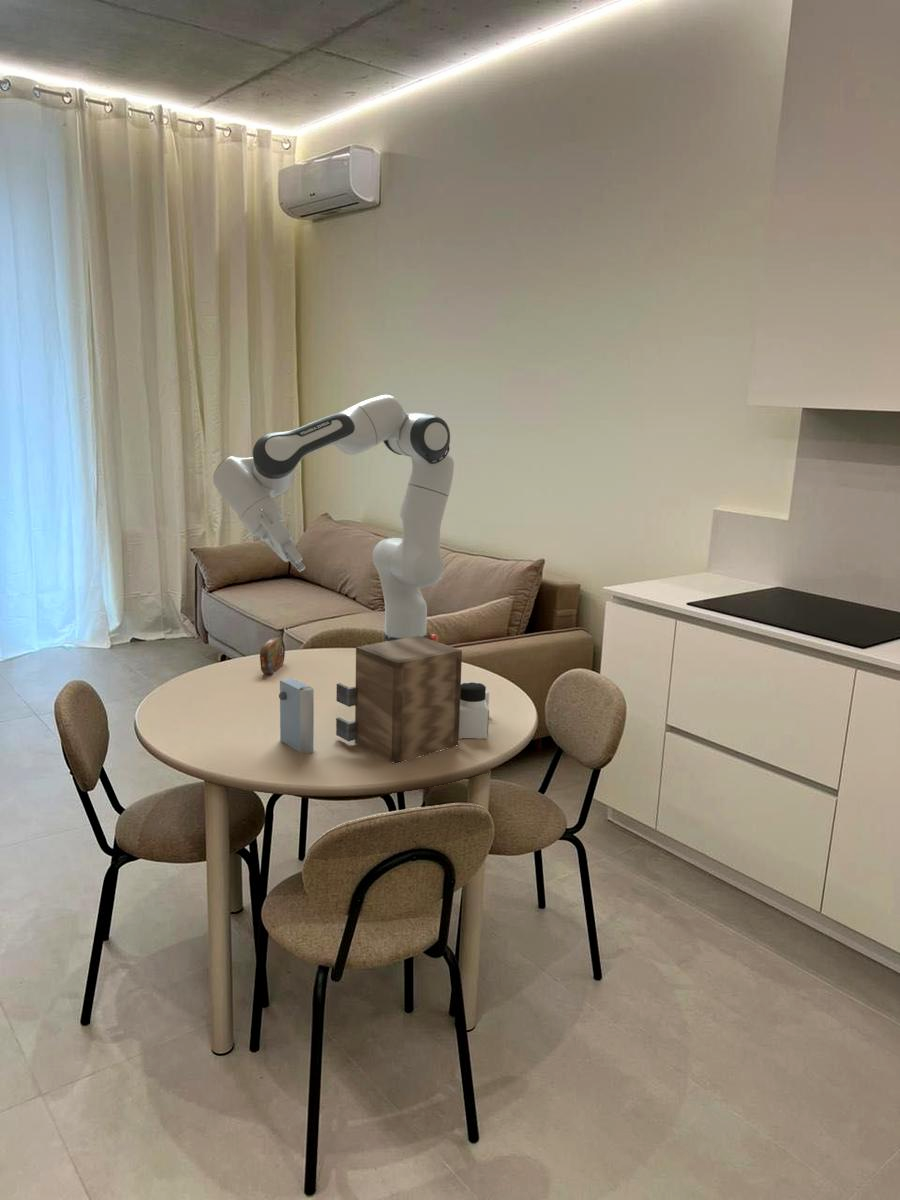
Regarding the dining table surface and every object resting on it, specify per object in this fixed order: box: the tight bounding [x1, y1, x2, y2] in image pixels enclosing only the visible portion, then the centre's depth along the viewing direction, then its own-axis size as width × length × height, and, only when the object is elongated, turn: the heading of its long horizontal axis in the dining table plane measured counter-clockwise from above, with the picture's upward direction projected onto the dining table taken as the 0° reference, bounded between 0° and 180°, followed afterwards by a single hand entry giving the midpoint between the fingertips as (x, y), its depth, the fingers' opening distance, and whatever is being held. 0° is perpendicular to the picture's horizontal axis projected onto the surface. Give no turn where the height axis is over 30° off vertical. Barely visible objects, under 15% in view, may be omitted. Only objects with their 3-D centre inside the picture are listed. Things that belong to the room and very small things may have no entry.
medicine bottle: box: [459, 681, 490, 740], centre depth 205 cm, size 7×7×12 cm
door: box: [278, 677, 315, 754], centre depth 194 cm, size 10×4×14 cm, turn 40°
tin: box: [259, 637, 286, 675], centre depth 250 cm, size 15×3×8 cm, turn 173°
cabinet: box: [335, 636, 463, 764], centre depth 197 cm, size 20×19×22 cm
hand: (301, 565), depth 204 cm, fingers open, 8 cm apart
